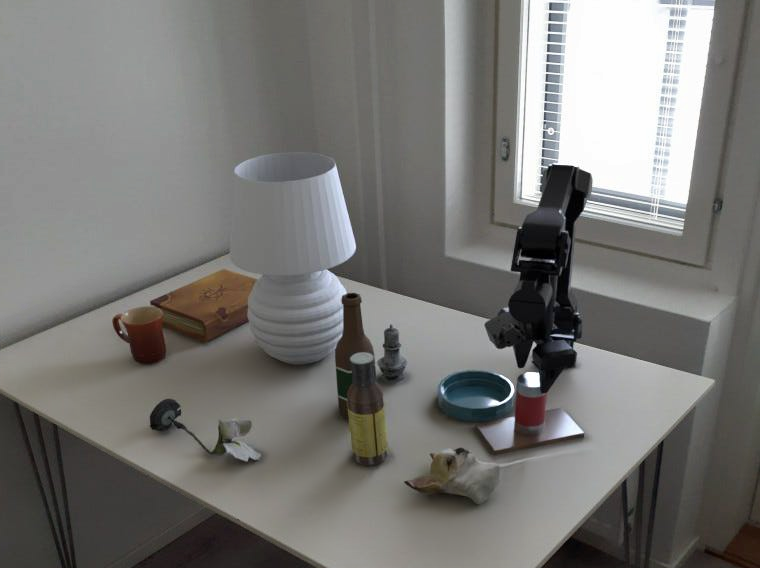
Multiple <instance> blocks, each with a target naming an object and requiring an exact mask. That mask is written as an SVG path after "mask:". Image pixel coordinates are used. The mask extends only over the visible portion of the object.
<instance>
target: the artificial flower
mask: <svg viewBox="0 0 760 568" xmlns="http://www.w3.org/2000/svg"><path fill="white" fill-rule="evenodd" d="M182 413H183V412H182V408H181V405H180V403H179V402H177V401H176V399H173V398H165V399H163V400H161V401H159V402H158V403H157V404H156V405H155V406H154V408H153V410H151V413H150V414H149V428H150V430H152V431H157V432H159V433H164V432H165V431H166V430H168V429H170V428H171V427H172V426H174V427H176V428H177V430H180V429H181V430H183V431H185V432H186V433H187V434H189V436H191V437H192V438H193V439H194V440H195V441H196V442H197V443H198V444H199V446H201V448H202V449H203V450H204V451H205V452H206V453H207V454H209V455H210V456H214V455H220V456H221V455H224V454H226V453H228V454H230V455H232V456H233V457H234V458H235V459H237V460H240V461H244V462H246V463H247V462H249V459H251V460H254V461H260V458H261V457H262V456H261V455H262V454H261V453H259V452H257V451H255V450H254V449H253V448H252V446H250V445H247V444H246V443H244V442H242V441H239V440H237V439H236V440H233V439H235V438H240V437H245V436H247V435H248V434H249V433H250V431H251V429H253V421H252V420H249V419H240V418H238V417H232V418H231V419H230V420H229V421H224V420H221V419H218V425H217V431H218V437H217V438H218V439H217V442H216V444H215V447H214V449H213V450H212V451H210V450H209V449H208V448H207V446H206V445H205V444H204V443H203V442H202V441H201V440H200V439H199V438H198V437H197V436H196V435H195V434H194V433H193V432H192V431H190V430H189V429H188V427H187V426H186V425H185V424H184V423H182V422H180V421H178V420H177V418H178V417H181V416H182Z"/></svg>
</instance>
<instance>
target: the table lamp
mask: <svg viewBox="0 0 760 568" xmlns="http://www.w3.org/2000/svg"><path fill="white" fill-rule="evenodd" d="M341 184H342V183H341V180H340V176H339V172H338V168H337V165H336V161H335V160H334V159H333V157H329V156H326V155H324V154H320V153H315V152H304V151H301V152H299V151H297V152H294V151H293V152H278V153H277V152H276V153H271V154H264V155H259V156H255V157H253V158H250V159H246V160H245V161H243V162H241V163H239V164H238V165H236V166H235V167H234V172H233V190H232V206H231V207H232V209H231V224H230V242H229V259H230V262H231V263H232V264H233V265H234V266H235V267H237V268H238V269H240V270H243V271H245V272H249V273H251V274H258V275H261V276H260V277H259V278H257V279H258V280H257V281H256V282H255V284H254V287H253V289H252V291H251V293H250V295H249V297H248V312H247V316H248V320H249V322H248V327H249V330H250V332H251V333H252V335H253V337H254V339H255V342H256V344H257V345H258V346H259V347H260V348H261V349H262V350H264V352H265V353H266V354H267V355H269V357H272V358H274V359H276V360H278V361H280V362H283V363H285V364H290V365H308V364H313V363H317V362H319V361H321V360H323V359H324V358H326V357H328V355H330V354H331V353H333V352H335V349H336V346H337V343H338V341H339V340H340V338H341V337H342V334H343V304H342V301H341V299H342V296H343V295H345V294H347V293H348V292H347V289H346V288H345V286H344V284H342V283H341V282H340V279H339V278H338V276H337V275H335V274H334V273H333V272H331V271H329V269H332V268H335V267H337V266H339V265H342V264H343V263H344V262H346V261H348V260H349V259H351V258H352V257H353V256H354V254H355V253H356V250H357V244H356V239H355V236H354V233H353V228H352V224H351V220H350V216H349V212H348V208H347V204H346V201H345V197H344V193H343V188H342V185H341Z"/></svg>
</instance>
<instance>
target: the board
mask: <svg viewBox="0 0 760 568" xmlns="http://www.w3.org/2000/svg"><path fill="white" fill-rule="evenodd" d="M514 424H515V416H511V417H504V418H498V419H495V420H490V421H484V422H477V423H475V424H474V429H475V431H476V432H477V433H478V436H480V437H481V439H482V440H483V441H484V443H485V444H486V446H487V447H488V449H489V450H490V452H491V453H492V454H493V456H498V455H503V454H504V455H505V454H508V453H513V452H517V451H523V450H528V449H533V448H538V447H542V446H547V445H553V444H557V443H562V442H567V441H573V440H577V439H582V438H585V431H584V430H582V428H581V427H580V426H579V425H578V423H576V422H575V420H573V418H572V417H571V416H570V415H569V414H568V413H567V412H566V411H565V409H563V407H556V408H551V409H547V410H546V412H545V422H544V431H543V432H542V433H541V434H539V435H536V436H525V435H521V434H519V433H518V432H516V431H515V429H514Z"/></svg>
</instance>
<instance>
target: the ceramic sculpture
mask: <svg viewBox="0 0 760 568" xmlns="http://www.w3.org/2000/svg"><path fill="white" fill-rule="evenodd" d="M429 456H430V458H431V460H432V461H431V463H430V472H429V474H425V475H419V476H417V477H416V478H414V479H411V480H410V479H409V480H403V483H404V485H406V486H408V487H409V488H411V489H412V490H413V491H416V492H418V493H422V494H424V495H432V494H433V495H434V494H442V493H446V494H449V495H450V494H451V495H457V496H463V497H468V498H470V499H471V500H472V501H473V502H474V503H475V504H477V505H481V504H483V503H485V502H487V501H489V500H490V499H491V498H492V496H493V494H494V492H495V490H496V488H497V487H498V485H499V484H500V479H501V470H502V467H501V466H500V465H498V464H497V463H496V462H485V461H479V460H478V459H477V458H476V457H475V455H474V454H473V453H472V451H471V450H470V449H466V448H463V447H457V448H453V447H448V448H445V449H443V450H441V451H439V452H438V453H433V452H430V453H429Z"/></svg>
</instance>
